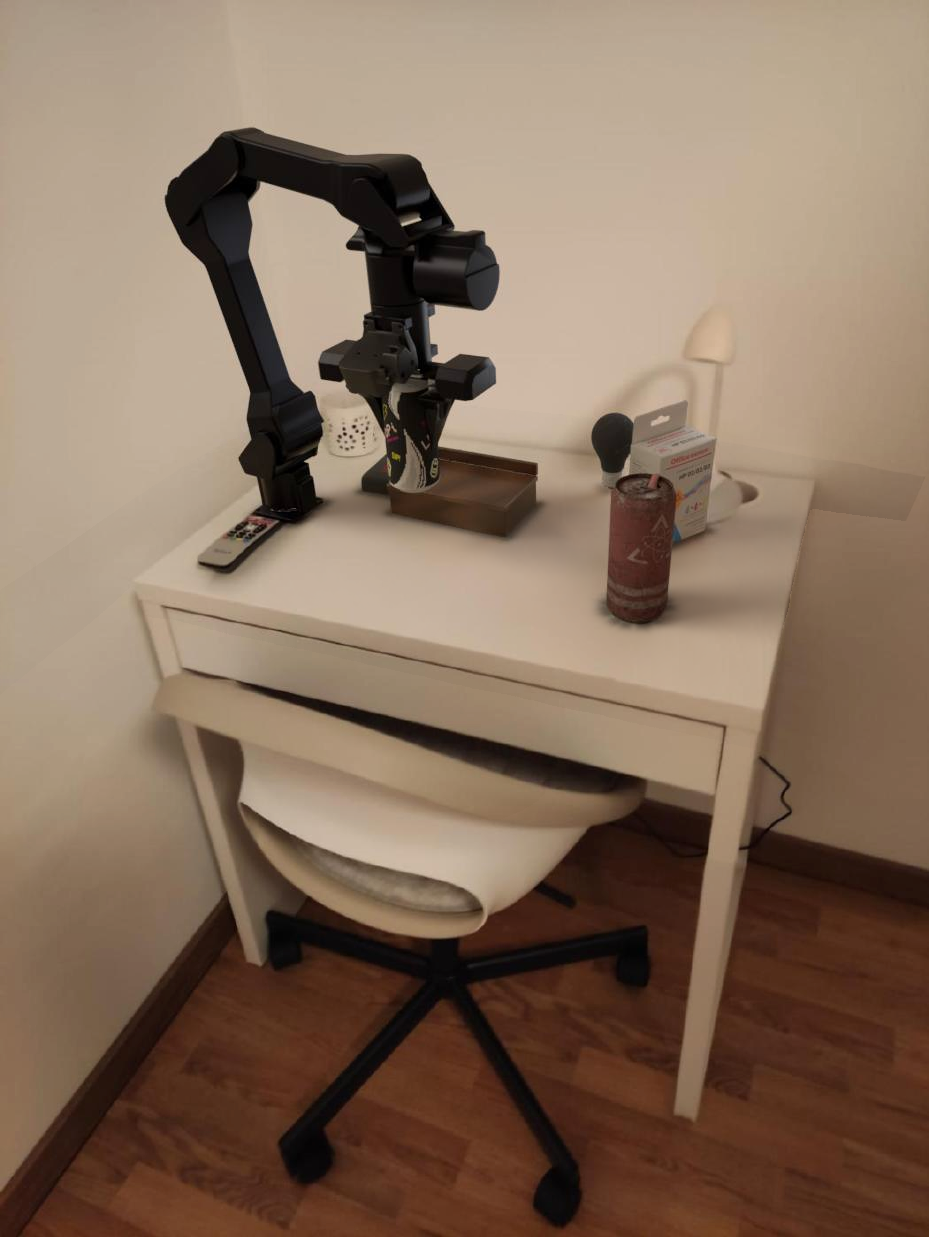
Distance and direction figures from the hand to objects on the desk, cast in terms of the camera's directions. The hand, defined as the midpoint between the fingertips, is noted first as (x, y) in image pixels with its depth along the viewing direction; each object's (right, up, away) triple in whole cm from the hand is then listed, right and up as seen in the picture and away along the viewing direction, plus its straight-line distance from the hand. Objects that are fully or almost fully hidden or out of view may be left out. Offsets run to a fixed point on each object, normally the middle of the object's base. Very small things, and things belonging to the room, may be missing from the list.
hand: (411, 445), depth 96 cm
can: (+23, -18, -5) cm, 30 cm away
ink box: (+29, -9, +7) cm, 31 cm away
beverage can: (0, -4, +3) cm, 5 cm away
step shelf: (+6, -5, +15) cm, 16 cm away
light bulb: (+25, -2, +17) cm, 30 cm away
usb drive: (-3, +1, +24) cm, 24 cm away
